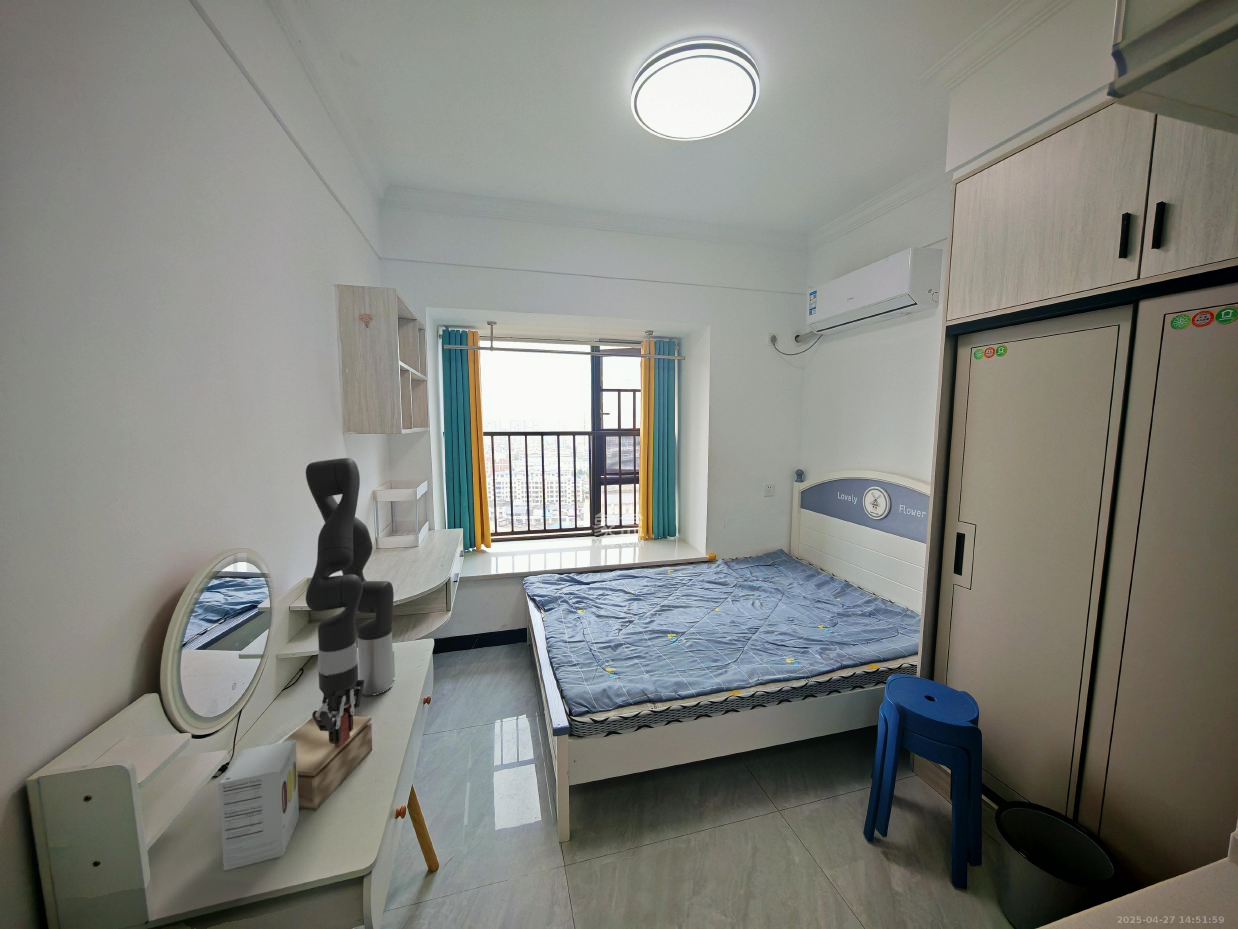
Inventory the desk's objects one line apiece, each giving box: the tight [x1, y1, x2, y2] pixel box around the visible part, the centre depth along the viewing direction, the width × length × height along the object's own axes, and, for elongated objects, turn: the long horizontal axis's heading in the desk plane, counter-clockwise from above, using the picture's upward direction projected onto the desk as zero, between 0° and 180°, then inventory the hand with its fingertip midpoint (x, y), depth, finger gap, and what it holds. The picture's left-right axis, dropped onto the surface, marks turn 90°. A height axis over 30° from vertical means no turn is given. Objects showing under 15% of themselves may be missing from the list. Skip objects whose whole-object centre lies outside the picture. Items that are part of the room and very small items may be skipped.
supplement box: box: [218, 740, 300, 871], centre depth 86 cm, size 10×9×17 cm
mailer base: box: [297, 722, 373, 812], centre depth 103 cm, size 18×15×7 cm
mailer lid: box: [282, 712, 372, 776], centre depth 102 cm, size 18×15×7 cm
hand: (341, 736), depth 102 cm, fingers closed on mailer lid, 3 cm apart
